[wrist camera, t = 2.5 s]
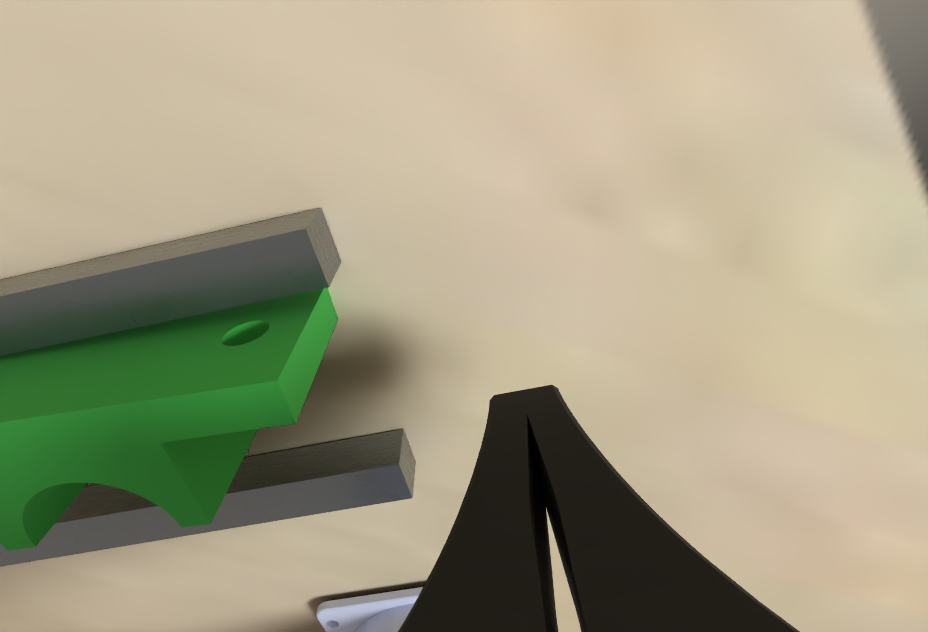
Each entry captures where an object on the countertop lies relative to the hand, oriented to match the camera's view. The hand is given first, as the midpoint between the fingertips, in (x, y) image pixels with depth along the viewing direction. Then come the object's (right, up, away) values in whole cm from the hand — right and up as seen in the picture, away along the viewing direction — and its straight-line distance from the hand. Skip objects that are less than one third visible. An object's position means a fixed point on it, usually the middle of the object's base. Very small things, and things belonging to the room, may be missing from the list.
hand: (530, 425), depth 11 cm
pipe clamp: (-10, +1, +4) cm, 11 cm away
